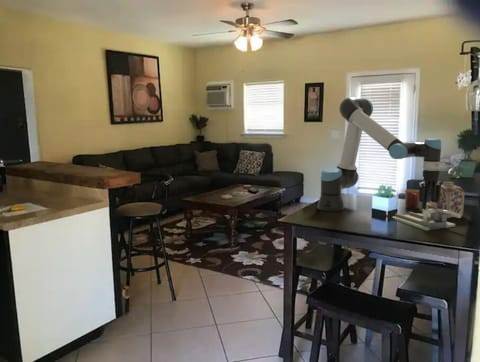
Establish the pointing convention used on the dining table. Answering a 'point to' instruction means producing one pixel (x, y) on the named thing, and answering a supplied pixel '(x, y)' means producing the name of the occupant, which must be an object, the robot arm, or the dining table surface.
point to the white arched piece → (433, 209)
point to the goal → (434, 224)
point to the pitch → (416, 220)
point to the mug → (412, 199)
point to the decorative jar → (451, 198)
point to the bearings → (441, 216)
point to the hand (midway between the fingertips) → (428, 214)
